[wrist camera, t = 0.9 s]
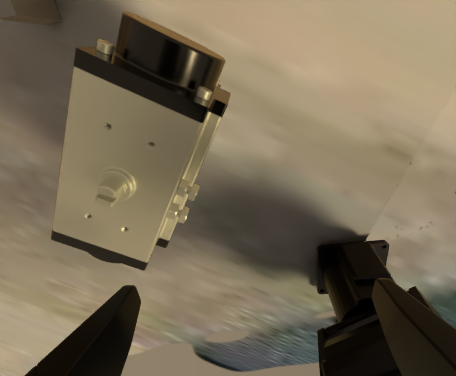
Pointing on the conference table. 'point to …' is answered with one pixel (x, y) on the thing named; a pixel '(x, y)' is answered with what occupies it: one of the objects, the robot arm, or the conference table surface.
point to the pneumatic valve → (135, 140)
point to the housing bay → (30, 11)
